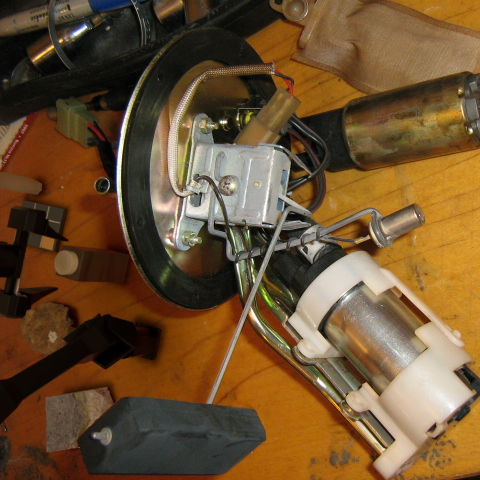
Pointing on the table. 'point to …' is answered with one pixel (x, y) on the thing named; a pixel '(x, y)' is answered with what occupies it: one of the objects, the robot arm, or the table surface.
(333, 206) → the table surface
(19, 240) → the robot arm
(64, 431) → the geological specimen
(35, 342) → the decorative rock
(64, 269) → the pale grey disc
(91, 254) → the stand
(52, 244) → the board
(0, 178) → the handle
